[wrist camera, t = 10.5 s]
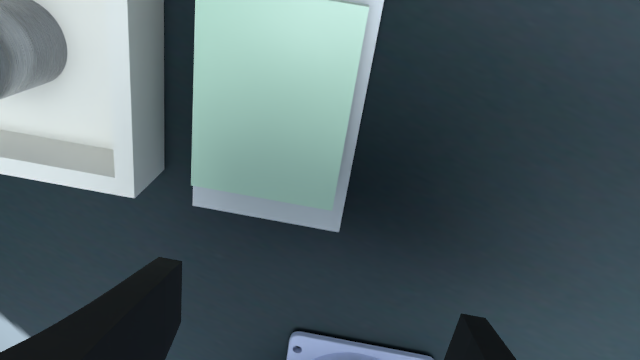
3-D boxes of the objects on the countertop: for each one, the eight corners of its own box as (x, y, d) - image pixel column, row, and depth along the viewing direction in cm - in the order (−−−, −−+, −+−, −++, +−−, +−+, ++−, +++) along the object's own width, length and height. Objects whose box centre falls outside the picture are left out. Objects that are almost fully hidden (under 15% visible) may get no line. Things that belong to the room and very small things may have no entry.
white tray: (164, 169, 22) (134, 198, 19) (-69, 127, 22) (-130, 149, 19) (163, -55, 17) (124, -60, 15) (-124, -103, 18) (-213, -115, 15)
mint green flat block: (334, 199, 20) (332, 211, 19) (199, 175, 20) (190, 185, 19) (369, 4, 16) (369, 7, 15) (205, -23, 16) (196, -22, 15)
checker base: (340, 223, 22) (338, 236, 21) (198, 197, 22) (189, 209, 21) (393, -54, 17) (395, -55, 16) (207, -84, 17) (196, -88, 16)
